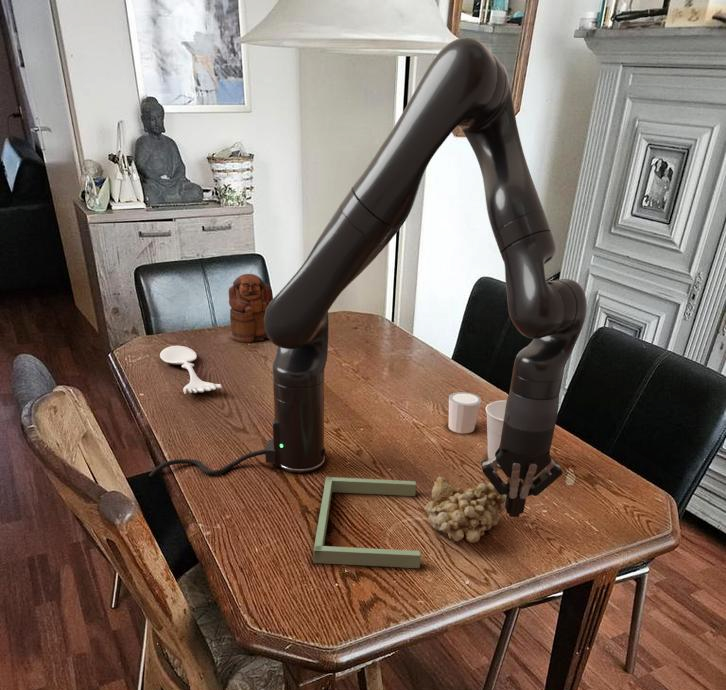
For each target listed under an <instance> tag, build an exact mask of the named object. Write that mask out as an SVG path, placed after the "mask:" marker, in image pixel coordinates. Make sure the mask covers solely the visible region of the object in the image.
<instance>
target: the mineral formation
mask: <svg viewBox="0 0 726 690" xmlns="http://www.w3.org/2000/svg"><path fill="white" fill-rule="evenodd" d="M433 483H434V484H433V487H432V489H431V498H432V500H431V501H429V502H428V503H426V505H425V506H424V507H423V508H424V510H425V511H426V512H427V514H428V518H427V520H428V522H429V524H430V525H432V526H433V528H435V529H436V530H438V531H440V532H442V533H443V534H446V535H448V538H449V539H453V540H454V541H455V542H459V541H461V540H462V539H464V537H465V540H466V541H468V542H469V543H471V544H474V543H477V542H478V541H480V539H481V537H482V536H484V535H485V531H486V530H487V531H489V530H491V528H492V527H495V526H498V524H499V520H500V519H501V515H499V514H502V513H503V512H505V511H506V508H505V502H506V496H507V495H505V494H504V495H500V494H499V493H498V492H497V490H496V489H495V488H494V486H493V485H492V484H491V482H489V483H488V484H486V483H482V482H481V483H478V485H477V486H476V487H472V488H471V487H469V488H467V489H466V490H465V491H464V490H463V488H462V487H457V488H453V487H452V486H451V485H450V480H448V479H446V478H444V476H438V477H437V478H436V480H435V481H434V482H433Z"/></svg>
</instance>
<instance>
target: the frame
mask: <svg viewBox="0 0 726 690" xmlns="http://www.w3.org/2000/svg"><path fill="white" fill-rule="evenodd" d="M416 492H417V481H416V480H399V479H397V480H396V479H376V478H357V477H333V476H326V477H325V480H324V487H323V493H322V498H321V503H320V511H319V515H318V521H317V528H316V533H315V539H314V546H313V564H327V565H329V564H330V565H348V566H363V567H367V566H368V567H385V568H386V567H387V568H406V569H407V568H408V569H420V566H421V556H422V555H421V554H422V553H421V550H411V549H410V550H409V549H391V548H389V549H388V548H373V547H372V548H371V547H370V548H369V547H351V546H350V547H349V546H334V545H333V546H329V545H325V542H326V535H327V528H328V522H329V516H330V509H331V501H332V497H333V495H332V494H333V493H343V494H362V495H363V494H364V495H380V496H381V495H382V496H384V495H385V496H403V497H416Z"/></svg>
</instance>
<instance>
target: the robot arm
mask: <svg viewBox="0 0 726 690" xmlns="http://www.w3.org/2000/svg"><path fill="white" fill-rule="evenodd" d="M457 128H460V130H461V132H462V133H463V135H464V136H465V138H466V140H467V142H468V143H469V145H470V147H471V149H472V151H473V153H474V155H475V158H476V160H477V163H478V165H479V166H478V167H479V168H480V172H481V176H482V183H483V189H484V197H485V205H486V212H487V215H488V216H487V217H488V220H489V224H490V227H491V230H492V233H493V237H494V239H495V242H496V246H497V248H498V250H499V253H500V257H501V259H502V261H503V264H504V276H505V277H504V278H505V279H504V280H505V289H506V290H505V291H506V300H507V301H506V302H507V307H508V308H507V310H508V314H509V318H510V319H511V322H512V324H513V325H514V327H515V328H516V330H517V331H518V332H519V333H520V334H521V335H522V336H524V337H526V338H528V339H532V341H531V342H530V343H529V344H528V345H527V346H525V347H523V348H522V349H521V350H520V351H518V353H517V354H516V355H515V358H514V362H513V368H512V373H511V381H510V387H509V392H508V396H507V399H506V400H507V402H506V408H505V415H504V421H503V428H502V435H501V441H500V446H499V448H498V450H497V451H496V453H495V457H493V458H492V459H490V460H488V459H482V460H481V461H480V467H481V470H482V473H483V474H484V476H485V477H486V478H487V480H488V481H489V483H491V484H492V485H493V486H494V488H495V489H496V490H497V492H498V493H499V494H500V495H504V494H505V495H506V500H505V502H504V505H505V511H506V514H508V516H509V517H510V518H519V517H520V515H522V514H523V513H524V511H525V507H526V501H527V498H528V497H530V496H533V497H537V496H539V495H540V494H541V493H543V492H544V491H545V490H546V489H547V488H548V487H550V485H552V484H553V483H554V482H555V481H557V480H558V479H559V478H560V477H561V476H562V475H563V473H564V471H563V470H562V468H561V465H560V464H559V462H558V461H555V462H554V460H553V459H552V456H551V448H552V443H553V438H554V433H555V428H556V423H557V422H558V415H559V414H558V413H559V406H560V392H561V390H562V389H561V388H562V383H563V379H564V373H565V367H566V365H567V362H568V361H569V359H570V356H571V354H572V352H573V350H574V349H575V346H576V344H577V341H578V340H579V337H580V335H581V332H582V330H583V327H584V324H585V321H586V316H587V312H588V311H587V310H588V304H587V303H588V302H587V301H588V300H587V296H586V292H585V290H584V288H583V287H582V285H580V283H579V282H577V281H575V280H573V279H570V278H559V279H555V280H550V281H547V277H546V272H545V265H546V264H547V263H549V262H550V261H551V260H552V259H553V258H554V257H555V255H556V250H557V247H556V242H555V239H554V235H553V232H552V230H551V228H550V224H549V221H548V219H547V216H546V213H545V210H544V208H543V205H542V201H541V198H540V197H539V194H538V191H537V188H536V185H535V183H534V180H533V177H532V175H531V172H530V169H529V165H528V163H527V159H526V155H525V152H524V150H523V145H522V142H521V141H522V140H521V137H520V133H519V129H518V123H517V118H516V113H515V106H514V101H513V94H512V91H511V84H510V79H509V75H508V72H507V69H506V67H505V65H504V64H503V63H502V61H500V59H499V58H498V57H497V56H496V55H495V54H494V53H493V52H492V51H491V50H490V49H489V48H488V47H487V46H486V45H484V43H482V42H481V41H479V40H478V39H477V38H473V37H470V36H464V37H459V38H456V39H454V40H452V41H450V42H449V43H448V44H446V45H445V46H444V47H443V48H442V49H440V51H439V52H438V53H437V54H436V56H435V57H434V58H433V60H432V61H431V63H430V64H429V66H428V67H427V69H426V71H425V72H424V74H423V76H422V77H421V79H420V81H419V83H418V84H417V86H416V87H415V90H414V92H413V94H412V95H411V97H410V99H409V100H408V102H407V104H406V106H405V108H404V109H403V111H402V113H401V115H400V117H399V118H398V120H397V121H396V123H395V125H394V126H393V128H392V130H391V131H390V132H389V133H388V135H387V137H386V138H385V140H384V141H383V142H382V144H381V145H380V146H379V148H378V149H377V151H376V153H375V154H374V156H373V157H372V159H371V160H370V162H369V163H368V165H367V166H366V168H365V169H364V170H363V172H362V173H361V174H360V176H359V177H358V178H357V180H355V182H354V183H353V185H352V186H351V188H350V189H349V191H348V192H347V193H346V195H345V196H344V197H343V199H342V200H341V202H340V203H339V205H338V206H337V208H336V209H335V211H334V212H333V214H332V215H331V218H330V219H329V220H328V223H327V224H326V226H325V227H324V229H323V231H322V232H321V233H320V235H319V237H318V238H317V241H316V242H315V244H314V245H313V247H312V249H311V251H310V252H309V254H308V256H307V257H306V259H305V261H304V262H303V263H302V265H301V267H300V268H299V269H298V270H297V272H296V273H294V275H293V276H292V277H291V278H290V280H289V281H288V282H287V283H286V284H285V285H284V287H282V289H281V290H280V291H279V292H278V293H277V294H276V295H275V296H274V297H273V299H272V300H271V301H270V303H269V304H268V306H267V308H266V311H265V316H264V327H265V331H266V334H267V336H268V338H269V339H268V340H269V341H270V342H271V343H272V344H273V345H274V346H276V347H277V350H276V355H275V356H274V357H275V358H274V360H273V363H272V388H273V409H274V418H273V419H272V420H273V421H272V439H268V441H267V444H266V446H265V448H264V449H261V450H256V451H253V452H249V453H246V454H244V455H242V456H240V457H238V458H237V459H236V460H234V461H232V462H230V463H228V464H227V465H225V466H223V467H222V468H219V469H216V470H215V469H214V470H211V469H209V468H207V467H206V466H205V465H204V464H203V463H202V462H201V461H199V460H197V459H187V458H181V459H180V458H179V459H172V460H168V461H165V462H163V463H160V464H159V465H157V466H156V467H154V469H152V471H151V472H150V473H149V475H148V476H149V477H155V476H156V475H157V474H158V473H159V472H160V471H162V470H163V469H165V468H167V467H170V466H173V465H183V464H184V465H185V464H188V465H195V466H197V467H198V468H199V469H200V470H201V471H202V472H203V473H204V474H206V475H211V476H215V475H216V476H217V475H221V474H225V473H226V472H227V471H229V470H231V469H232V468H235V467H236V466H237V465H239V464H241V463H242V462H244V461H246V460H248V459H252V458H254V457H258V456H262V455H264V456H265V463H266V464H267V463H269V464H274V468H275V469H276V468H277V469H281V470H284V471H286V472H288V473H289V472H290V473H295V474H304V473H305V474H306V473H311V472H314V471H316V470H318V469H320V468H321V467H323V466H324V464H325V461H326V455H325V453H326V447H325V370H326V366H327V360H328V352H329V351H328V350H329V322H330V321H329V310H330V309H331V308H332V306H333V305H334V303H335V302H336V300H337V299H338V297H339V296H340V295H341V293H343V291H345V289H346V288H347V287H348V286H349V285H350V284H351V283H352V282H353V281H354V280H356V279H357V278H358V277H359V276H360V275H361V274H362V273H363V272H364V271H365V270H366V269H367V268H368V267H369V266H370V265H371V264H372V263H373V262H374V261H375V260H376V258H378V256H379V255H380V254H381V253H382V252H383V251H384V249H386V247H387V246H388V244H390V242H391V241H392V240H393V238H394V237H395V236H396V234H397V233H398V232H399V231H400V229H401V228H402V226H403V225H404V224H405V222H406V220H407V219H408V217H409V215H410V213H411V212H412V209H413V207H414V205H415V204H414V203H415V201H416V199H417V196H418V193H419V189H420V185H421V183H422V180H423V177H424V174H425V173H426V170H427V168H428V165H429V164H430V162H431V160H432V159H433V157H434V156H435V155H436V153H437V151H438V150H439V149H440V148H441V147H442V145H443V144H444V142H445V141H446V140H447V139H448V137H449V136H450V135H451V134H452V133H453V132H454V130H455V129H457ZM498 464H499V466H500V467H499V468H500V469H501V470H502V472H503V473H504V475H505V476H506V479H507V480H506V483H505V482H504V480H502V478H501V476H500V475H499V474H498V473H497V472H498V466H497V465H498Z"/></svg>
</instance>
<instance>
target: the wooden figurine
mask: <svg viewBox="0 0 726 690" xmlns="http://www.w3.org/2000/svg"><path fill="white" fill-rule="evenodd" d="M273 296H274V295H273V289H272V286H270V284H268V283H265V281H264V280H263V279H262V278H261V277H260V276H259V275H256V274H254V273H244V274H241V275H239V276H238V277H236V278H235V280H233V282H232V285H231V286H230V287H229V289H228V304H229V307H230V309H229V319H230V329H231V333H232V338H233V340H234V341H235V340H236V341H237V342H242V343H254V342H260V341H265V340H270V339H269V338H268V336H267V334H266V331H265V327H264V316H265V311H266V308H267V306H268V304H269V303H270V301H271V300H272V299H273V298H274V297H273Z"/></svg>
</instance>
